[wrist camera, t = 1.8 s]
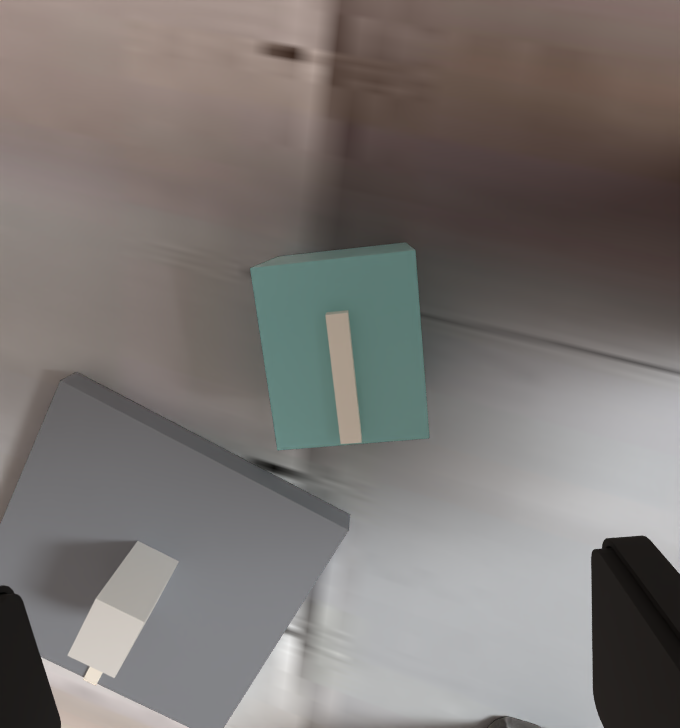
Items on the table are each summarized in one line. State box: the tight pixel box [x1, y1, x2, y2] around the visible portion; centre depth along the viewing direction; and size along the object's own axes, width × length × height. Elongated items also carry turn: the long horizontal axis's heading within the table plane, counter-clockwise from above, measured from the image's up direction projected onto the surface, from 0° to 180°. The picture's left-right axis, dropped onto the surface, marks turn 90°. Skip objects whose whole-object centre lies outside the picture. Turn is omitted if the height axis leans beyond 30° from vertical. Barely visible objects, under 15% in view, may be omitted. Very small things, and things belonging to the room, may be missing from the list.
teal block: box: [250, 242, 429, 450], centre depth 23 cm, size 7×6×7 cm
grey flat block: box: [0, 372, 350, 728], centre depth 28 cm, size 16×16×6 cm
